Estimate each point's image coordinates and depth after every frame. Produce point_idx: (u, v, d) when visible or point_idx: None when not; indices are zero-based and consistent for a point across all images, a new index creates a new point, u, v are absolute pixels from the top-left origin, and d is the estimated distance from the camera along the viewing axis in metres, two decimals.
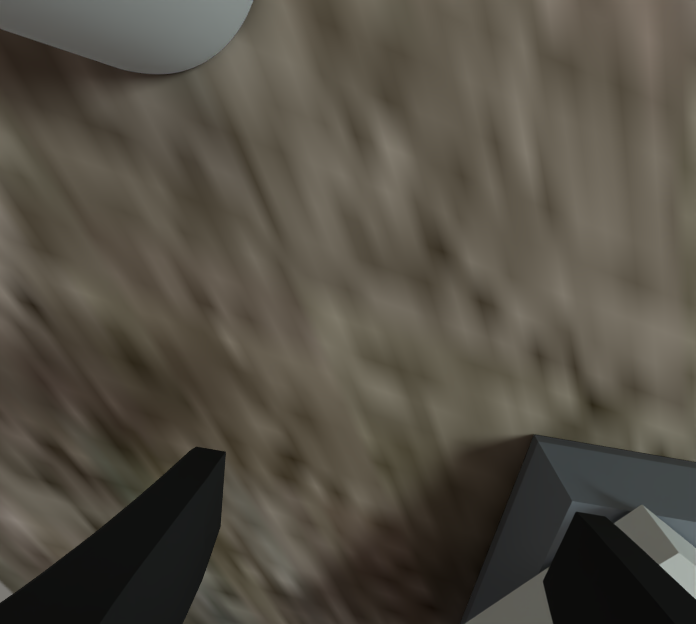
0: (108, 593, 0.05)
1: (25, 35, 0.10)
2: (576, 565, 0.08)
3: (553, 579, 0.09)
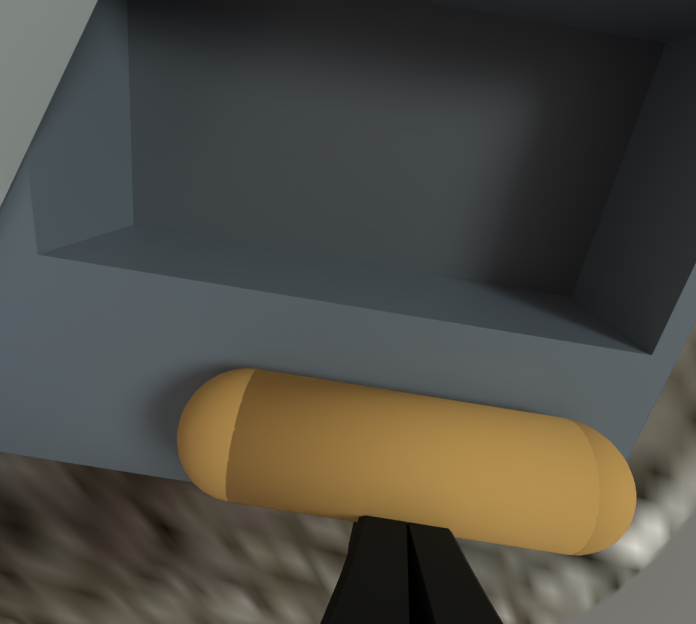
0: None
1: None
2: None
3: None
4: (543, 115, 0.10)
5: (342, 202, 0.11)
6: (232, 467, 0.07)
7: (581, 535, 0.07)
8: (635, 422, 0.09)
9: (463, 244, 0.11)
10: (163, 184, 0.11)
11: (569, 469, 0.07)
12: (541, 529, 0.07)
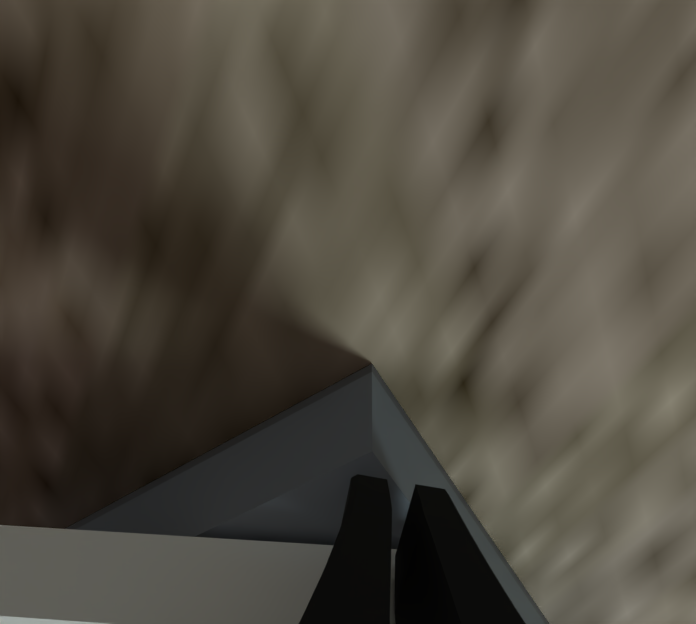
0: None
1: None
2: (409, 537, 0.08)
3: (399, 553, 0.09)
4: None
5: None
6: None
7: None
8: None
9: None
10: None
11: None
12: None
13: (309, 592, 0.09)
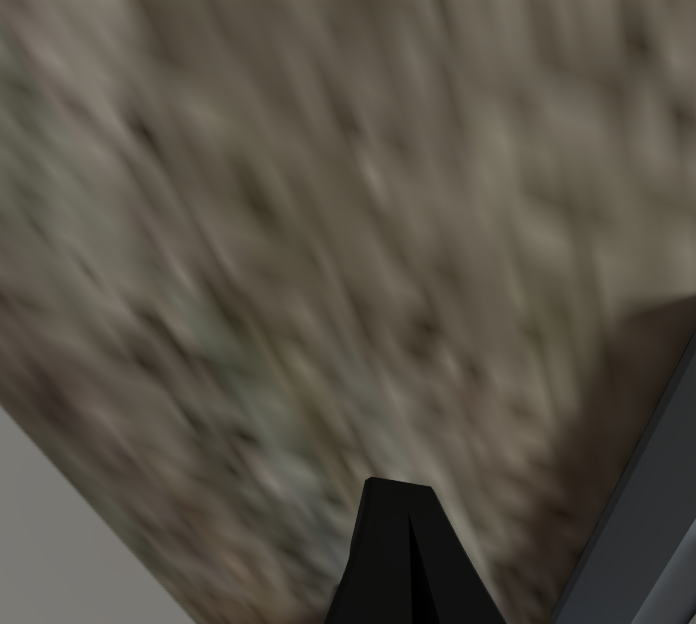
0: None
1: None
2: None
3: None
4: None
5: None
6: None
7: None
8: None
9: None
10: None
11: None
12: None
13: None
